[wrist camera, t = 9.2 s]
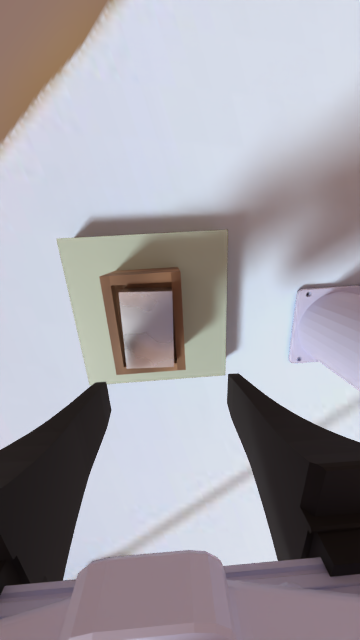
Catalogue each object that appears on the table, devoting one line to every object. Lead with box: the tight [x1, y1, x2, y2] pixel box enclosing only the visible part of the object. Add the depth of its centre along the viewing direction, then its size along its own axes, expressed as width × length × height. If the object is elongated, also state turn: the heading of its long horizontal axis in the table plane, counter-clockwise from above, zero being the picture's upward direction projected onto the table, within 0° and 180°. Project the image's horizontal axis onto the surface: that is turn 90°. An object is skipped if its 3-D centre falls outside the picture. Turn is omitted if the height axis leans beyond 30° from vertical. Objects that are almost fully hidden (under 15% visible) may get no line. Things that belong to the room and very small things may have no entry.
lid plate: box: [119, 287, 174, 369], centre depth 14 cm, size 3×5×2 cm, turn 1°
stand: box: [57, 230, 228, 385], centre depth 19 cm, size 13×13×2 cm
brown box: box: [99, 267, 186, 375], centre depth 16 cm, size 5×7×4 cm
